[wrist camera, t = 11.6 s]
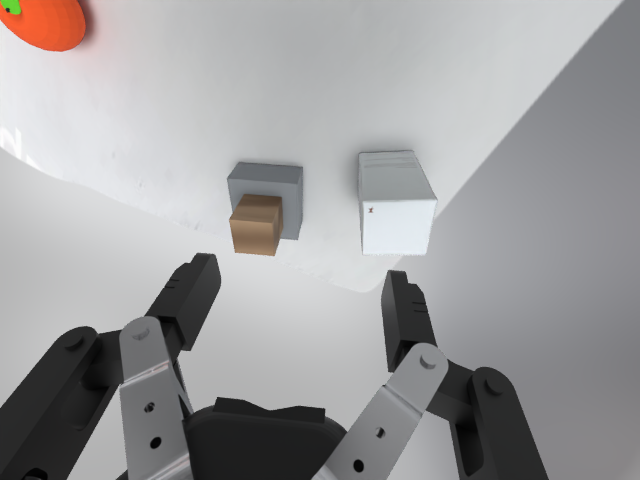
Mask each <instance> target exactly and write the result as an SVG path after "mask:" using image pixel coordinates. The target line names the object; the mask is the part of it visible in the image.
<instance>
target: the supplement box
mask: <svg viewBox="0 0 640 480" xmlns="http://www.w3.org/2000/svg"><path fill="white" fill-rule="evenodd" d="M358 199H359V213H360V230H361V244H362V254H363V255H426V251H427V246H428V241H429V237H430V232H431V228H432V224H433V220H434V215H435V211H436V207H437V203H438V200H437V198H436V196H435V194H434V192H433V190H432V188H431V186H430V184H429V182H428V180H427V178H426V176H425V174H424V171H423V169H422V167H421V165H420V163H419V161H418V159H417V157H416V155H415V153H414V151H399V152H375V153H359V174H358Z"/></svg>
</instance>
